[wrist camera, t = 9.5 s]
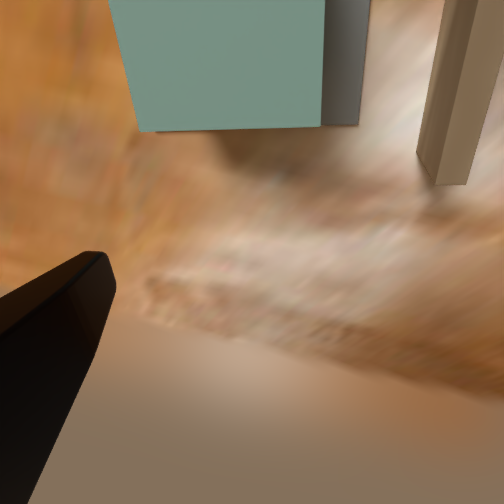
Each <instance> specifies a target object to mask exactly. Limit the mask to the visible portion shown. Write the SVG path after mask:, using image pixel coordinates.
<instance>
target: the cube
mask: <svg viewBox="0 0 504 504" xmlns="http://www.w3.org/2000/svg"><path fill="white" fill-rule="evenodd" d="M108 2H109V6H110V10H111V14H112V19H113V23H114V27H115V31H116V35H117V39H118V43H119V48H120V52H121V56H122V60H123V64H124V68H125V72H126V76H127V81H128V85H129V89H130V93H131V97H132V101H133V105H134V110H135V114H136V118H137V122H138V126H139V130H140V132H154V131H189V130H224V129H259V128H294V127H320V125H321V98H322V70H323V43H324V15H325V0H108Z"/></svg>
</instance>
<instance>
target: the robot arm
mask: <svg viewBox="0 0 504 504" xmlns="http://www.w3.org/2000/svg"><path fill="white" fill-rule="evenodd" d="M115 293H116V280H115V277H114V274H113V270H112V267H111V264H110V261H109V258H108V256H107V254H106V253H104V252H100V251H84V252H82V253H80V254H79V255H77V256H75V257H73V258H71V259H70V260H68V261H66V262H64V263H62V264H61V265H59V266H57V267H55V268H53V269H51V270H50V271H48V272H46V273H44V274H42V275H41V276H39V277H37V278H35V279H33V280H32V281H30V282H28V283H26V284H24V285H22V286H21V287H19V288H17V289H15V290H13V291H12V292H10V293H8V294H6V295H4V296H3V297H1V298H0V504H28V501H29V499H30V497H31V495H32V493H33V490H34V488H35V486H36V484H37V482H38V479H39V477H40V475H41V473H42V471H43V468H44V466H45V464H46V462H47V460H48V457H49V455H50V453H51V451H52V449H53V446H54V444H55V442H56V440H57V438H58V436H59V433H60V431H61V429H62V427H63V424H64V422H65V420H66V418H67V416H68V413H69V411H70V409H71V407H72V405H73V403H74V400H75V398H76V396H77V394H78V392H79V389H80V387H81V385H82V383H83V381H84V378H85V376H86V374H87V372H88V370H89V367H90V365H91V363H92V361H93V358H94V356H95V353H96V350H97V348H98V345H99V342H100V339H101V336H102V332H103V330H104V326H105V323H106V320H107V317H108V314H109V311H110V308H111V305H112V302H113V299H114V296H115Z"/></svg>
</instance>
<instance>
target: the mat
mask: <svg viewBox="0 0 504 504" xmlns="http://www.w3.org/2000/svg"><path fill="white" fill-rule="evenodd" d="M369 6H370V0H325V15H324V43H323V70H322V98H321V125H352V124H358V120H359V110H360V100H361V89H362V79H363V68H364V58H365V48H366V37H367V27H368V16H369Z"/></svg>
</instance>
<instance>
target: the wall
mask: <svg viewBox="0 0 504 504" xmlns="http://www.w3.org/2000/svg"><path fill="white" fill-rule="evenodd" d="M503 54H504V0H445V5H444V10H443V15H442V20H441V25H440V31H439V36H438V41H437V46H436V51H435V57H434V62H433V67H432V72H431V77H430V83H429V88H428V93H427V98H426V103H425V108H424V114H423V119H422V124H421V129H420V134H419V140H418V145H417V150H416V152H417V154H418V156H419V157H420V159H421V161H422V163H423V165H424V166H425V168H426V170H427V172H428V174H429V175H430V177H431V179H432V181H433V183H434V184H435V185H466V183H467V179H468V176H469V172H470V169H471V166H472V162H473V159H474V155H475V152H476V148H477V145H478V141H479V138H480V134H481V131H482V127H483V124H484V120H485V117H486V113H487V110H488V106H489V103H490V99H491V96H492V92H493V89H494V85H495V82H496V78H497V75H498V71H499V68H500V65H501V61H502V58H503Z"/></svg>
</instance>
